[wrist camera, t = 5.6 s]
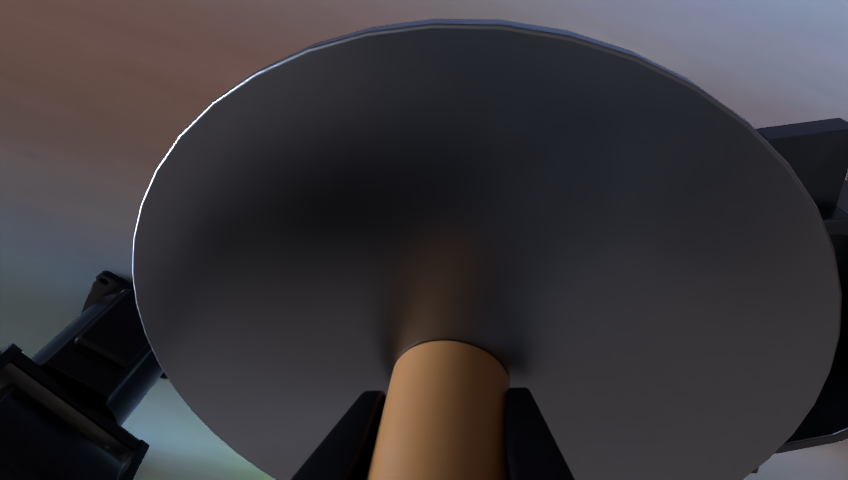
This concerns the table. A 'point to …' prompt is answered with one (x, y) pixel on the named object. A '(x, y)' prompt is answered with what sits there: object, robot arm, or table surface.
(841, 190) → the pan
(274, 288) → the pan lid
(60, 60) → the table surface
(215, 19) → the table surface
